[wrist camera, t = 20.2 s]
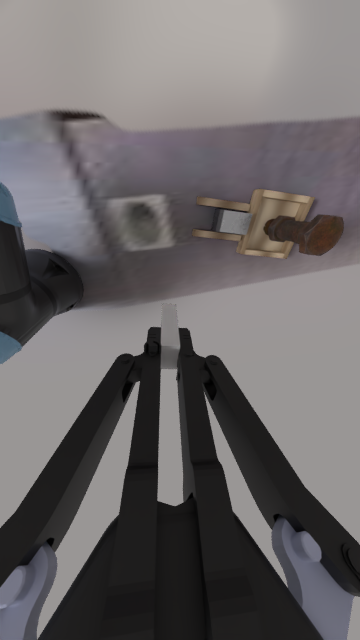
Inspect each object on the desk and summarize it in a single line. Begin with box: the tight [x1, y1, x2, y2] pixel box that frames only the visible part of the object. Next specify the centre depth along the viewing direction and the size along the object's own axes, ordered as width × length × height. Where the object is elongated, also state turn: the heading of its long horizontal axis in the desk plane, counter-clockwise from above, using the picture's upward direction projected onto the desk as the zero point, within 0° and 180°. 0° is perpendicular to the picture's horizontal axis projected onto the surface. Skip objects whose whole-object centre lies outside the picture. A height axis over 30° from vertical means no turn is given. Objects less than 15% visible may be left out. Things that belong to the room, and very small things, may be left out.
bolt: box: [263, 215, 344, 256], centre depth 29 cm, size 6×5×15 cm
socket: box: [192, 189, 315, 259], centre depth 34 cm, size 23×12×2 cm, turn 84°
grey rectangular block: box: [211, 209, 253, 235], centre depth 33 cm, size 6×4×4 cm, turn 84°
